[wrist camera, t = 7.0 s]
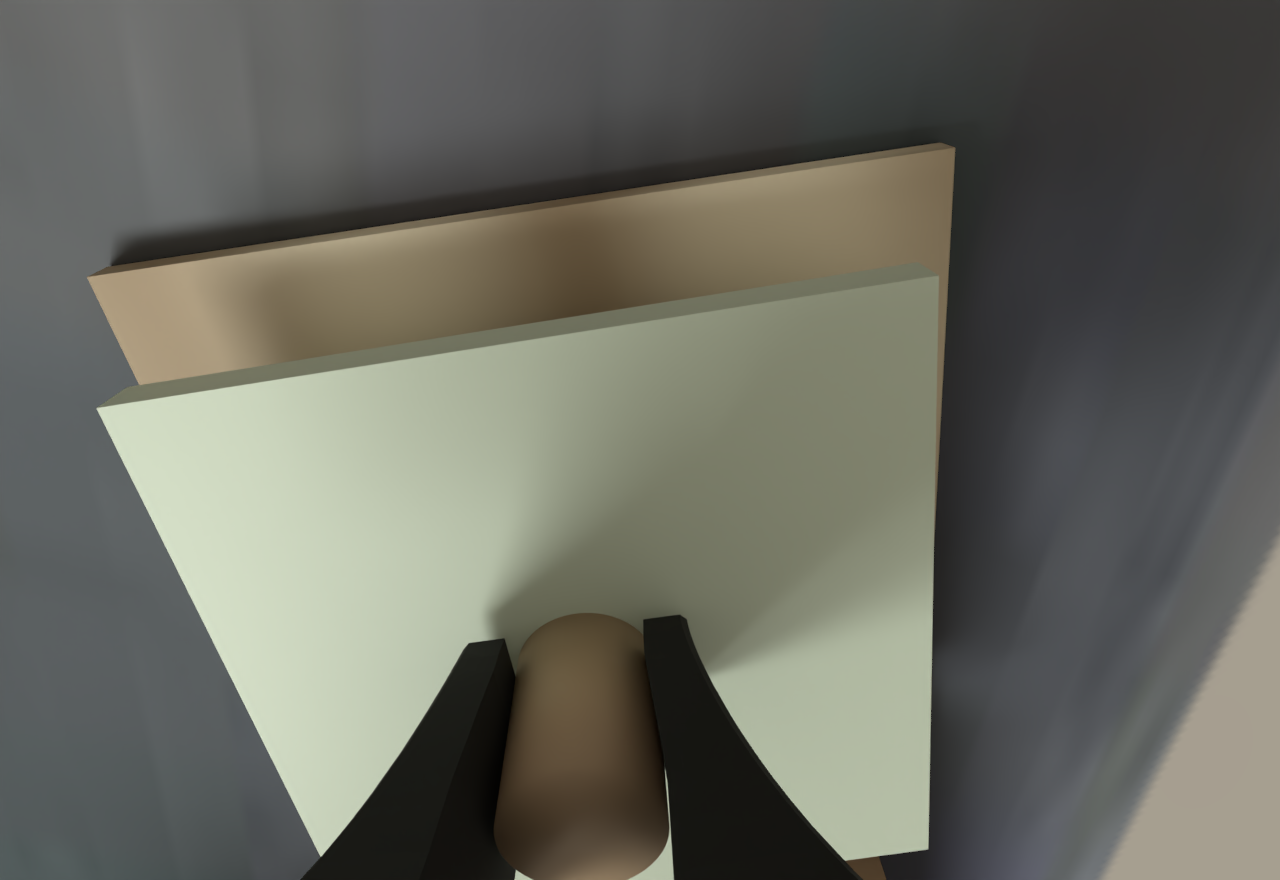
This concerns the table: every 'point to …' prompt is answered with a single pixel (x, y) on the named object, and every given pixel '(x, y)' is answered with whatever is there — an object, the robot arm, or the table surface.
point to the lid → (578, 553)
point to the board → (534, 264)
